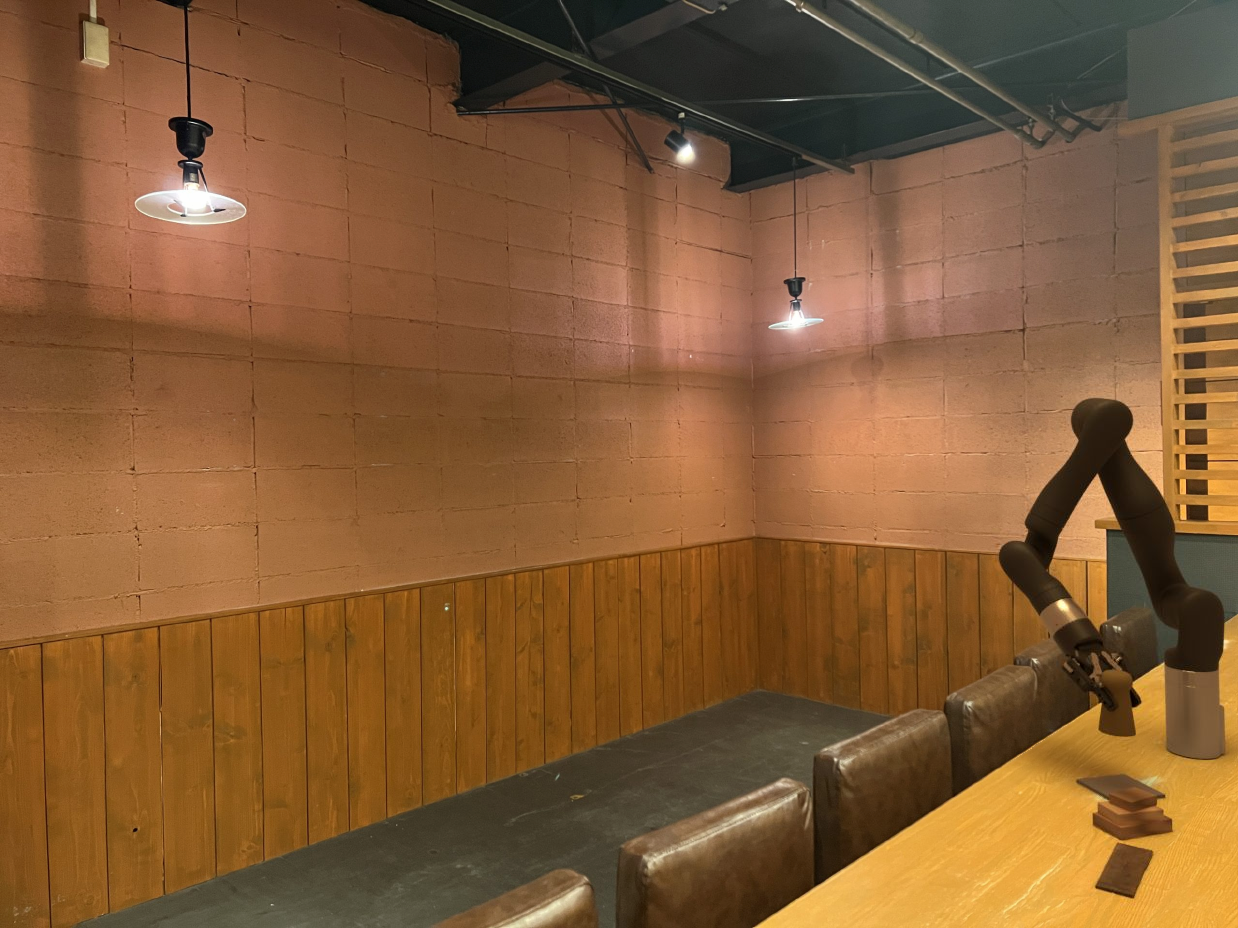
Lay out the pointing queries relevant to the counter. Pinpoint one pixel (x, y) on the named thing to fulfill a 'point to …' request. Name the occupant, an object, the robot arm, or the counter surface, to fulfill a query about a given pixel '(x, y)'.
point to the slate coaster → (1115, 785)
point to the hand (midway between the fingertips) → (1125, 706)
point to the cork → (1122, 717)
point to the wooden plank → (1124, 870)
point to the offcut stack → (1131, 815)
